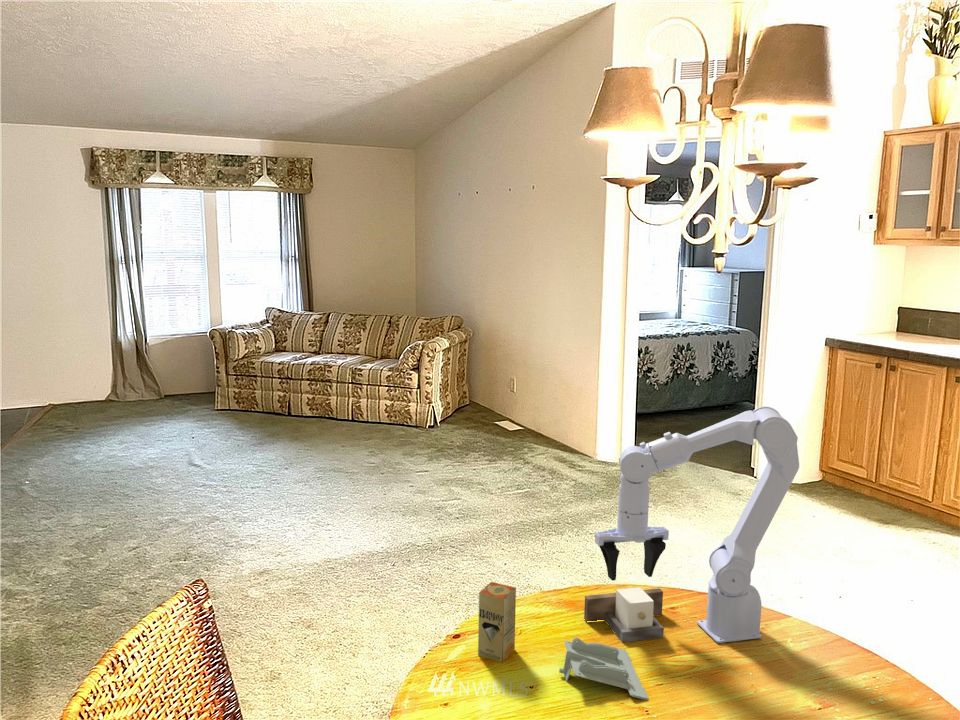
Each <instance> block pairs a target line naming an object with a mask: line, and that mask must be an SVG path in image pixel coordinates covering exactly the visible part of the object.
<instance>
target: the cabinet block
mask: <svg viewBox="0 0 960 720" xmlns="http://www.w3.org/2000/svg"><path fill="white" fill-rule="evenodd" d="M643 590H644V589H642V587H640V586H639V587H629V588H618V589H616V590H615V591H616V592H615V593H616V609H615V618H616V619H617V620H618V621H619V622H620V624H621V625H622V626H623V627H624V628H625V629H632V628H641V627H650V626H653V617H654V616H653V607H654V601H653V600H652V599H651V598H650V597H649V596H648V595H647V594H646V593H645V592H644V591H643Z"/></svg>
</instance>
